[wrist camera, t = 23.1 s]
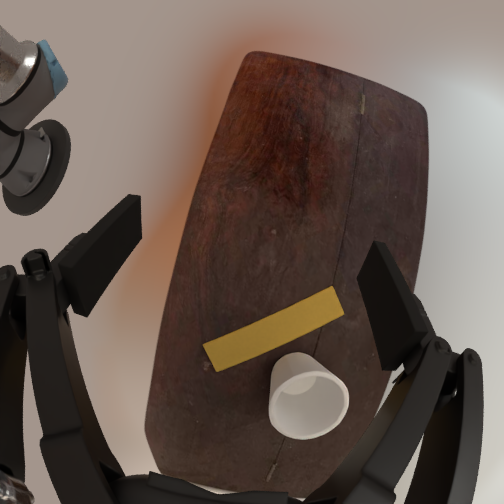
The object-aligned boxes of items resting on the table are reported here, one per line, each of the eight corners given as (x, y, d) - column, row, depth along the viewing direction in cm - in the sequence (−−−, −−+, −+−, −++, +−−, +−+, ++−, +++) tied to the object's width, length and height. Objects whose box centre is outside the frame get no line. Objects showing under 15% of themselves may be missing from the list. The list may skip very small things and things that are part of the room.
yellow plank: (217, 371, 41) (216, 372, 40) (203, 343, 41) (202, 344, 41) (343, 313, 42) (344, 314, 41) (331, 285, 42) (332, 285, 41)
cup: (278, 408, 40) (287, 450, 28) (253, 360, 41) (254, 394, 28) (333, 382, 41) (359, 416, 28) (310, 333, 41) (333, 356, 29)
